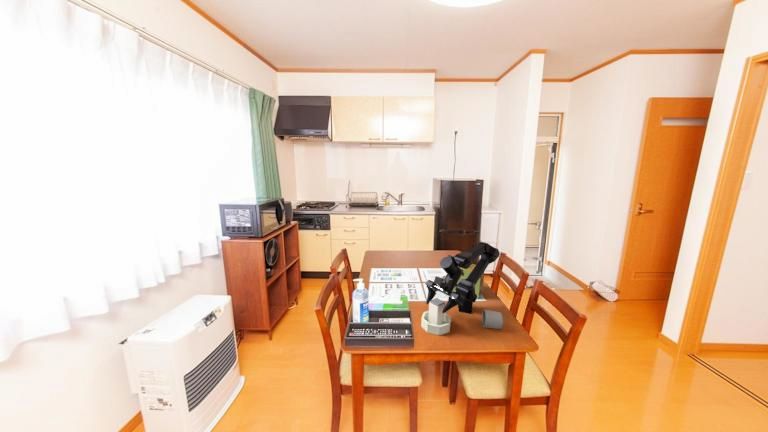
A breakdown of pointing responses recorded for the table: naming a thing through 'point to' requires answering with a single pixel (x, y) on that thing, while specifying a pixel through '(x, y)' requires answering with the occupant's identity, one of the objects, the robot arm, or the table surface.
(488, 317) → the ceramic mug
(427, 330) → the sage bowl
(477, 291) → the protein box
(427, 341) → the table surface
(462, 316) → the table surface
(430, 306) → the pebble canister
